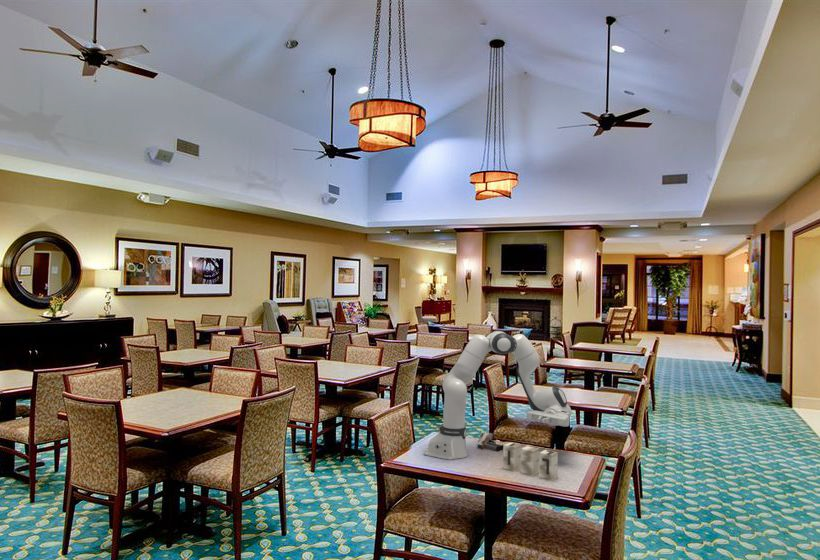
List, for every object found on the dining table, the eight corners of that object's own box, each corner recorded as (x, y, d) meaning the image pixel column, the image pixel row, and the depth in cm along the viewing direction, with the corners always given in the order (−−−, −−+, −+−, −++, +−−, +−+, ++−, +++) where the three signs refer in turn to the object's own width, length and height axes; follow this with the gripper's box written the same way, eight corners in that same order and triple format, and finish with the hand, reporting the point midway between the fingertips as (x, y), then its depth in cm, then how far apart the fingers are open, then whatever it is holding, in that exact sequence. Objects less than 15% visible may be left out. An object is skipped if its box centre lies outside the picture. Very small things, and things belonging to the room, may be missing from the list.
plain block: (520, 473, 234) (520, 448, 235) (526, 469, 239) (526, 446, 239) (532, 476, 230) (533, 451, 231) (538, 472, 235) (538, 448, 235)
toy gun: (504, 453, 266) (474, 450, 269) (508, 438, 293) (481, 436, 297) (504, 447, 266) (475, 444, 270) (508, 433, 293) (481, 431, 297)
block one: (503, 468, 240) (503, 444, 240) (509, 465, 245) (509, 442, 245) (514, 471, 236) (514, 447, 236) (521, 468, 241) (521, 444, 241)
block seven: (539, 477, 228) (539, 452, 229) (545, 474, 233) (545, 449, 234) (551, 481, 225) (552, 455, 225) (557, 477, 229) (557, 452, 230)
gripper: (533, 406, 262) (520, 410, 251) (572, 413, 249) (561, 417, 238) (533, 418, 262) (520, 423, 251) (572, 426, 249) (560, 431, 238)
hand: (540, 420), depth 245 cm, fingers closed
